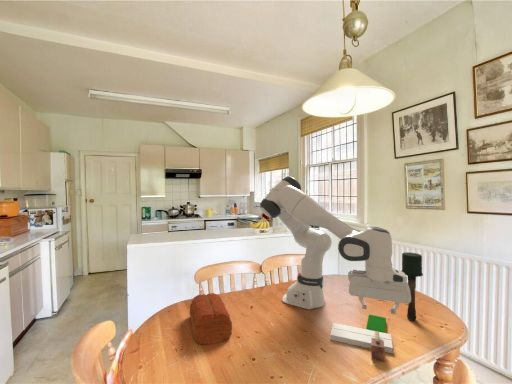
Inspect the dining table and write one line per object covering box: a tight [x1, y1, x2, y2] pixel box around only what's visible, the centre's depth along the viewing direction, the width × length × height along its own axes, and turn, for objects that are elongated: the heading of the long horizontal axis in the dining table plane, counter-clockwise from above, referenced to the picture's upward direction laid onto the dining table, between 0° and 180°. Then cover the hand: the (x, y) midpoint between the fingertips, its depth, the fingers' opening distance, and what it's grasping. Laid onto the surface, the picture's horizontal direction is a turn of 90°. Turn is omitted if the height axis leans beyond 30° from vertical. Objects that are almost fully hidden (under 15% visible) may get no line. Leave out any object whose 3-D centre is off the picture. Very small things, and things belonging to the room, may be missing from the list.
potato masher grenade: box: [401, 251, 424, 322], centre depth 120 cm, size 8×9×30 cm
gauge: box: [370, 331, 385, 363], centre depth 97 cm, size 4×13×6 cm, turn 157°
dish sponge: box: [365, 314, 387, 333], centre depth 113 cm, size 7×14×2 cm, turn 152°
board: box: [329, 322, 394, 354], centre depth 104 cm, size 22×10×2 cm, turn 66°
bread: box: [189, 292, 233, 345], centre depth 114 cm, size 16×27×11 cm, turn 19°
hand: (378, 310), depth 94 cm, fingers open, 8 cm apart
